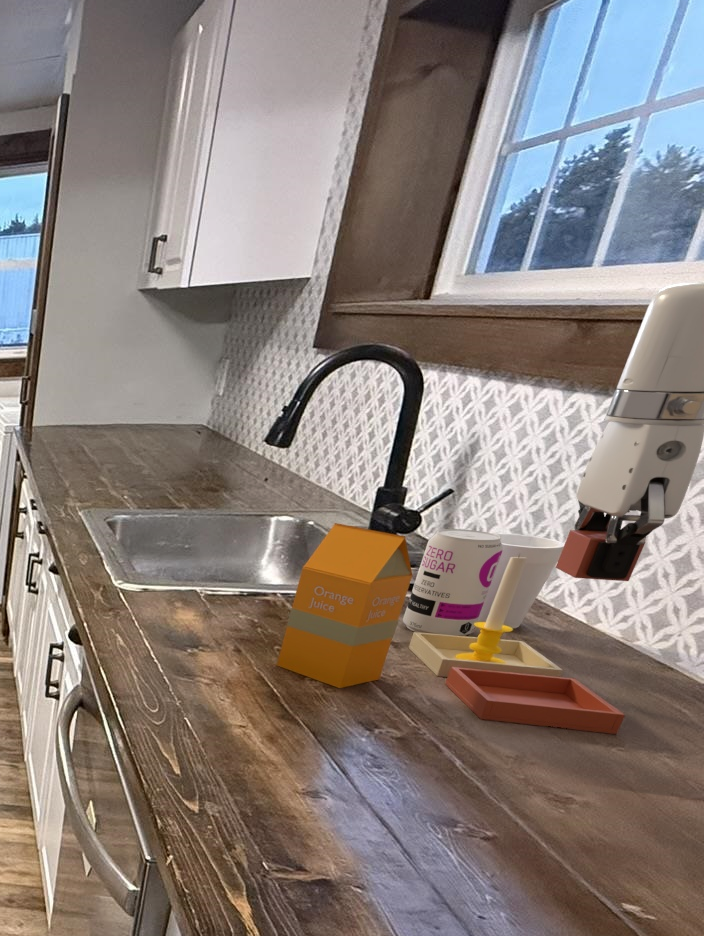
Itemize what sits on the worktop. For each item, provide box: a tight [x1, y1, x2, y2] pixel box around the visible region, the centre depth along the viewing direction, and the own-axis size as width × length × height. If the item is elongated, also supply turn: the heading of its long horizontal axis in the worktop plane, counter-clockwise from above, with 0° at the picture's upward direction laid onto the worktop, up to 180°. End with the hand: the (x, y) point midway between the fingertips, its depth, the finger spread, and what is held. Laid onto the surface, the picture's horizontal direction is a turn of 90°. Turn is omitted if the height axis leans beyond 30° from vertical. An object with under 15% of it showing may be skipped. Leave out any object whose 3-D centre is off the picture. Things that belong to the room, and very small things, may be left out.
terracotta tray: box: [444, 667, 626, 735], centre depth 101 cm, size 12×11×2 cm
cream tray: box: [408, 631, 564, 678], centre depth 113 cm, size 12×11×2 cm
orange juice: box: [276, 522, 413, 689], centre depth 110 cm, size 8×9×20 cm
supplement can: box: [402, 528, 503, 636], centre depth 123 cm, size 8×8×15 cm
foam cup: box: [477, 532, 565, 629], centre depth 126 cm, size 10×9×13 cm
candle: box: [455, 553, 527, 664], centre depth 110 cm, size 5×5×16 cm
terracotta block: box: [555, 529, 646, 582], centre depth 95 cm, size 5×5×5 cm
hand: (593, 569), depth 96 cm, fingers closed on terracotta block, 4 cm apart
